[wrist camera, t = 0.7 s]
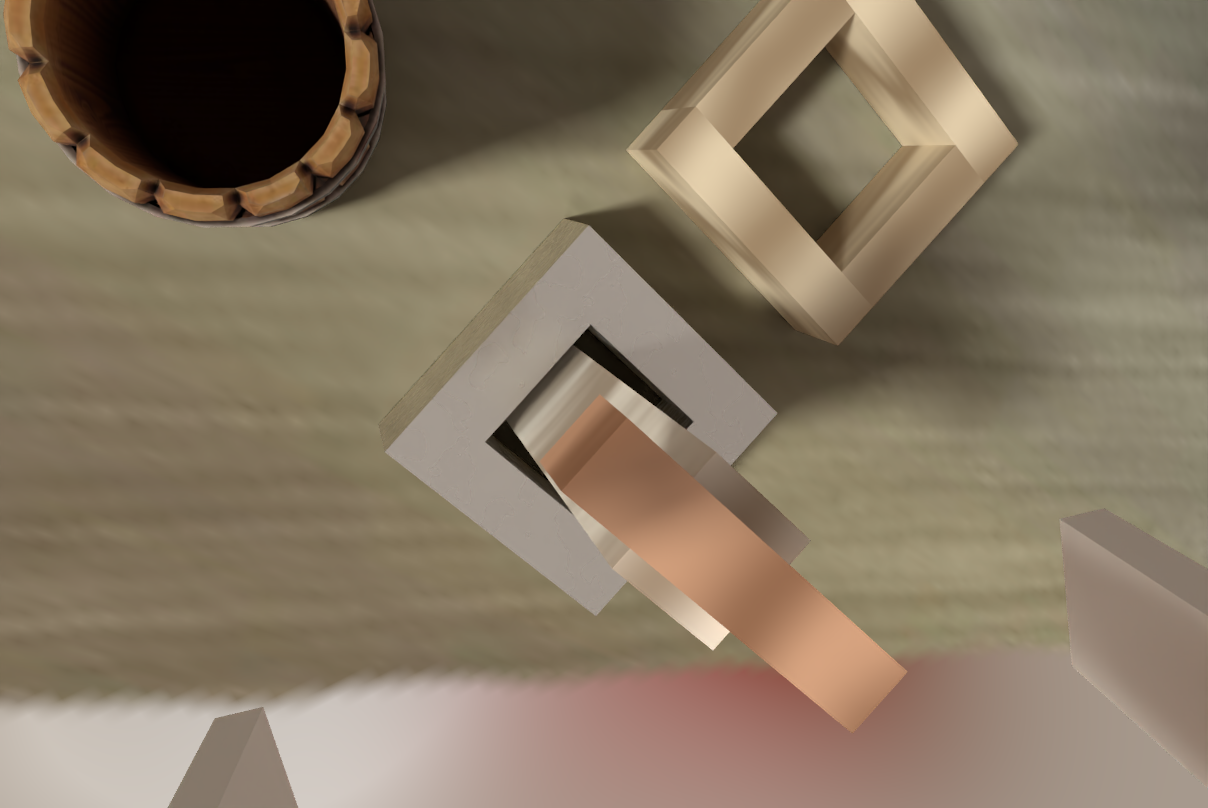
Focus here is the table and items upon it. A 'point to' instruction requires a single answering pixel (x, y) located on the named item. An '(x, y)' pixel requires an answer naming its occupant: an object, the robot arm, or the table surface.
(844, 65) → the block
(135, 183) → the mug
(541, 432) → the t-key
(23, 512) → the table surface
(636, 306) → the plate
